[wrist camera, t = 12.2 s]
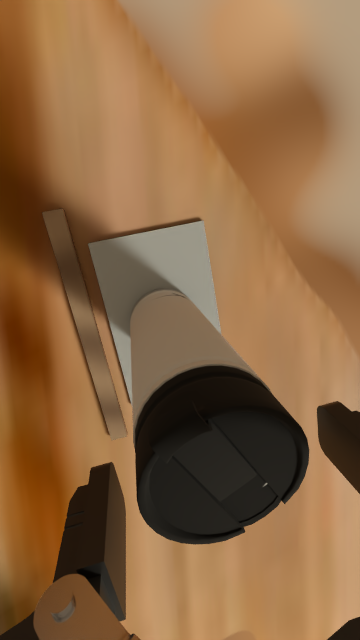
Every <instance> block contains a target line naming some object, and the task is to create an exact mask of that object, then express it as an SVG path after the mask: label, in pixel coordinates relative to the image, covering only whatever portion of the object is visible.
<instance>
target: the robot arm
mask: <svg viewBox="0 0 360 640" xmlns="http://www.w3.org/2000/svg"><path fill="white" fill-rule="evenodd" d="M317 420H318V437H319V443H320V446H321V448H322V450H323V452H324V454H325V455H326V456H327V457H328V458H329V460H330V461H331V462H332V463H333V464H334V465H335V466H336V468H337V469H338V470H339V471H340V472H341V473H342V474H343V476H344V477H345V478H346V479H347V480H348V481H349V482H350V483H351V485H352V486H353V487H354V488H355V489H356V490H357V491H358V493H359V494H360V412H358V411H353V412H351V411H350V410H349V409H348V408H347V407H345V406H344V405H343V404H342V403H340V402H338V401H336V402H332V403H329V404H325V405H321V406H318V408H317ZM64 528H65V531H64V532H63V537H62V542H61V547H60V551H59V556H58V561H57V566H56V571H55V576H54V580H53V584H52V585H50V587H49V588H48V589H47V590H46V591H45V592H44V594H43V595H42V597H41V598H40V600H39V602H38V604H37V606H36V609H35V611H34V612H33V613H32V614H31V615H30V616H28V617H27V618H26V619H24V620H23V621H22V622H20V623H19V624H17V625H16V626H14V627H13V628H11V629H10V630H8V631H7V632H5V633H4V634H2V635H1V636H0V640H140V639H139V638H138V637H137V636H136V635H135V634H132V635H130V634H129V633H128V632H127V631H126V629H125V628H124V627H123V625H122V624H121V623H120V622H119V621H122V620H125V619H126V511H125V502H124V497H123V493H122V490H121V486H120V483H119V480H118V477H117V474H116V470H115V467H114V465H113V463H112V462H110V463H106V464H103V465H99V466H95V467H92V468H91V470H90V477H89V483H88V485H84V486H81V487H78V488H77V490H76V492H75V493H74V495H73V497H72V498H71V500H70V502H69V507H68V512H67V518H66V522H65V527H64ZM327 640H360V617H358V618H355V619H352V620H349V621H348V622H347V623H346V624H344V625H343V626H342V627H341V628H340V629H339V630H338V631H336V632H335V633H334V634H333V635H332V636H331V637H330V638H328V639H327Z"/></svg>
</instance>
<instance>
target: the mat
mask: <svg viewBox="0 0 360 640" xmlns="http://www.w3.org/2000/svg"><path fill="white" fill-rule="evenodd" d="M88 246H89V249H90V253H91V257H92V260H93V264H94V268H95V271H96V275H97V279H98V283H99V286H100V290H101V294H102V297H103V301H104V305H105V308H106V312H107V316H108V319H109V323H110V327H111V331H112V334H113V338H114V342H115V345H116V349H117V353H118V356H119V360H120V364H121V368H122V371H123V375H124V379H125V382H126V386H127V390H128V393H129V397H130V401H131V404H132V374H131V339H130V317H131V312H132V310H133V308H134V305H135V304H136V303H137V301H138V300H139V299H140V298H141V297H142V296H143V295H145V294H146V293H148V292H150V291H153V290H155V289H161V288H170V289H174V290H177V291H180V292H182V293H183V294H185V295H186V296H187V297H188V298H189V299H190V300H191V301H192V302H193V303H194V304H195V306H196V307H197V308H198V309H199V310H200V311H201V312H202V313H203V315H204V316H205V317H206V318H207V319H208V320H209V321H210V322H211V324H212V325H213V326H214V327H215V328H216V329H217V330H218V331H219V333H220V334H221V329H220V323H219V316H218V310H217V304H216V297H215V291H214V285H213V278H212V272H211V265H210V259H209V253H208V246H207V240H206V234H205V227H204V221H198V222H193V223H188V224H183V225H178V226H173V227H168V228H163V229H158V230H153V231H148V232H143V233H138V234H133V235H128V236H123V237H118V238H113V239H108V240H103V241H98V242H93V243H88Z"/></svg>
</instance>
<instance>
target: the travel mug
mask: <svg viewBox="0 0 360 640" xmlns="http://www.w3.org/2000/svg"><path fill="white" fill-rule="evenodd" d="M130 339H131V374H132V408H133V443H134V447H135V453H136V487H137V502H138V506H139V510H140V513H141V515H142V517H143V518H144V520H145V522H146V523H147V524H148V525H149V526H150V527H151V528H152V529H153V530H154V531H155V532H156V533H158V534H160V535H161V536H163V537H165V538H167V539H169V540H173V541H176V542H180V543H186V544H211V543H216V542H221V541H226V540H228V539H230V538H233V537H235V536H238V535H240V534H242V533H245V530H244V526H248V525H251V524H253V523H255V522H257V521H258V520H260V519H262V518H263V517H265V516H266V515H267V514H269V513H270V512H271V511H272V510H274V509H275V508H276V507H277V506H278V505H279V503H280V502H281V500H282V502H283V503H284V504H285V503H286V502H287V501H288V500H289V499H290V498H291V497H292V495H293V494H294V493H295V492H296V491H297V490H298V489H299V487H300V485H301V483H302V481H303V479H304V477H305V473H306V470H307V466H308V461H309V447H308V442H307V438H306V436H305V434H304V432H303V430H302V428H301V426H300V425H299V424H298V423H297V422H296V421H295V420H294V418H293V417H292V416H291V415H290V414H289V413H288V412H287V410H286V409H285V408H284V407H283V406H282V405H281V404H280V402H279V401H278V400H277V399H276V398H275V397H274V396H273V394H272V393H271V391H270V389H269V388H268V387H267V386H266V384H265V383H264V382H263V381H262V380H261V379H260V378H259V377H258V375H257V374H256V373H255V372H254V371H253V370H252V369H251V368H250V366H249V365H248V364H247V363H246V362H245V361H244V360H243V359H242V357H241V356H240V355H239V354H238V353H237V352H236V351H235V349H234V348H233V347H232V346H231V345H230V344H229V343H228V342H227V340H226V339H225V338H224V337H223V336H222V335H221V334H220V333H219V331H218V330H217V329H216V328H215V327H214V326H213V325H212V324H211V322H210V321H209V320H208V319H207V318H206V317H205V316H204V315H203V313H202V312H201V311H200V310H199V309H198V308H197V307H196V306H195V304H194V303H193V302H192V301H191V300H190V299H189V298H188V297H187V296H186V295H185V294H183V293H182V292H180V291H177V290H174V289H170V288H161V289H155V290H153V291H150V292H148V293H146V294H145V295H143V296H142V297H141V298H140V299H139V300H138V301H137V303H136V304H135V305H134V308H133V310H132V312H131V317H130Z"/></svg>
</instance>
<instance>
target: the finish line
mask: <svg viewBox="0 0 360 640" xmlns="http://www.w3.org/2000/svg"><path fill="white" fill-rule="evenodd" d="M42 215H43V218H44V221H45V224H46V228H47V231H48V234H49V237H50V241H51V244H52V247H53V251H54V254H55V257H56V260H57V264H58V267H59V270H60V273H61V277H62V280H63V283H64V287H65V290H66V293H67V296H68V300H69V303H70V306H71V309H72V313H73V316H74V319H75V323H76V326H77V329H78V332H79V336H80V339H81V342H82V345H83V349H84V352H85V355H86V359H87V362H88V365H89V368H90V372H91V375H92V378H93V381H94V385H95V388H96V391H97V395H98V398H99V401H100V404H101V408H102V411H103V414H104V417H105V421H106V424H107V427H108V431H109V434H110V437H111V440H116V439H120V438H124V437H127V430H126V426H125V423H124V419H123V416H122V412H121V409H120V405H119V402H118V398H117V395H116V391H115V388H114V384H113V381H112V377H111V374H110V370H109V367H108V363H107V359H106V356H105V352H104V349H103V345H102V342H101V338H100V335H99V331H98V328H97V324H96V321H95V317H94V314H93V310H92V307H91V303H90V300H89V296H88V293H87V289H86V286H85V282H84V279H83V275H82V272H81V268H80V265H79V261H78V258H77V254H76V250H75V247H74V243H73V240H72V236H71V233H70V229H69V226H68V222H67V219H66V215H65V212H64V209H57V210H52V211H46V212H42Z"/></svg>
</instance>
